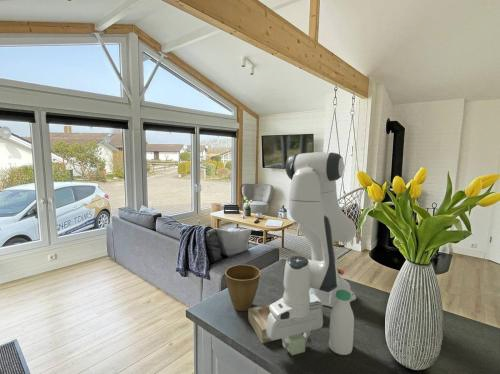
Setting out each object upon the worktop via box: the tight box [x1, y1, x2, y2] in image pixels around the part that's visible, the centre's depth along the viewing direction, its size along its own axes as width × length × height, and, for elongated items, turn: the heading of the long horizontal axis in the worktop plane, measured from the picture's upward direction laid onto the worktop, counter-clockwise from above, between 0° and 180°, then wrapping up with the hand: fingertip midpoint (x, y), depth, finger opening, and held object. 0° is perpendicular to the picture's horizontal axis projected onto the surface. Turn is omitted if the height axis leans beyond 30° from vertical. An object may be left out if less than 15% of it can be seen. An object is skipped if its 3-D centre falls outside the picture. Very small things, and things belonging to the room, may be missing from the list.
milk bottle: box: [328, 290, 355, 356], centre depth 92 cm, size 8×8×20 cm
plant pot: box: [224, 264, 261, 312], centre depth 116 cm, size 15×15×16 cm
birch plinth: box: [247, 303, 282, 344], centre depth 104 cm, size 15×14×5 cm
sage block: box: [284, 333, 306, 356], centre depth 92 cm, size 5×5×5 cm
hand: (294, 343), depth 92 cm, fingers open, 6 cm apart
